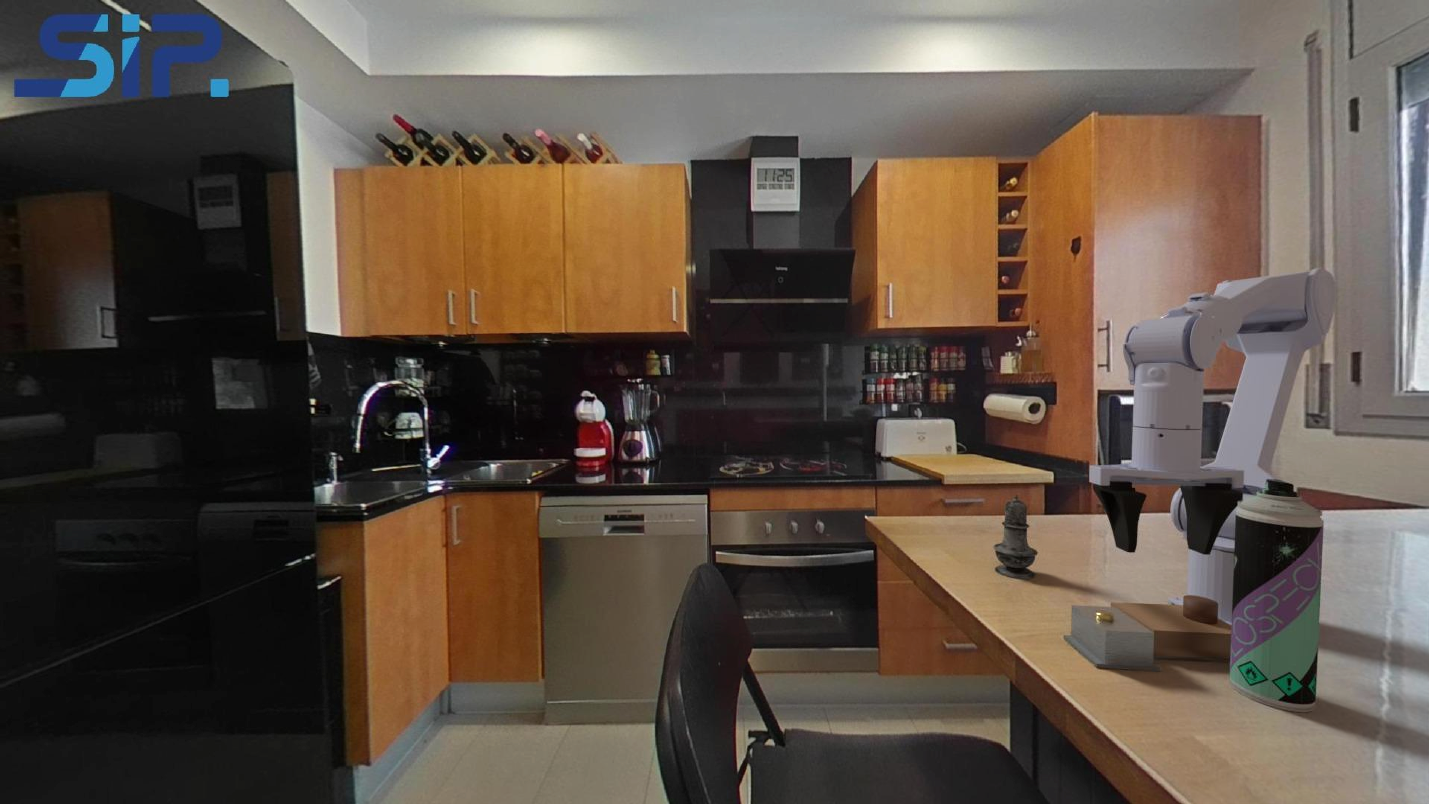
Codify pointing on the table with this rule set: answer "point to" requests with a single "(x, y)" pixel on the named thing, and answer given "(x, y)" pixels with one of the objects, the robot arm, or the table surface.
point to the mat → (1098, 662)
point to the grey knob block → (1112, 636)
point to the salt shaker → (1015, 543)
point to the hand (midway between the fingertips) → (1161, 550)
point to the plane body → (1184, 629)
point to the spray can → (1276, 598)
